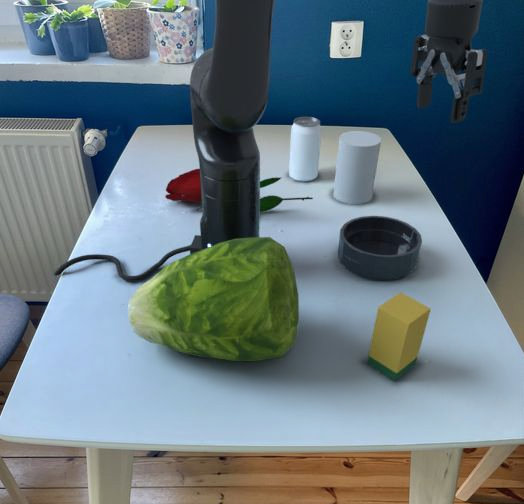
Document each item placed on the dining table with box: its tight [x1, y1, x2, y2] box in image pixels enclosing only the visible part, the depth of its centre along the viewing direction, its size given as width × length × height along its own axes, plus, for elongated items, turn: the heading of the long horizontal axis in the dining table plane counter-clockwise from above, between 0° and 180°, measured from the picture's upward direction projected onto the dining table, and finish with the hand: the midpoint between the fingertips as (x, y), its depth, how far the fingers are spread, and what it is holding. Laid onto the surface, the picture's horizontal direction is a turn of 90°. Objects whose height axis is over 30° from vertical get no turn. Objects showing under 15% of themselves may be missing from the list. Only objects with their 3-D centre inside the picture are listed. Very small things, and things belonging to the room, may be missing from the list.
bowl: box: [337, 215, 423, 282], centre depth 94 cm, size 14×14×5 cm
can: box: [288, 116, 322, 183], centre depth 117 cm, size 6×6×12 cm
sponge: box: [366, 292, 432, 382], centre depth 72 cm, size 5×5×10 cm
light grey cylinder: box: [333, 130, 382, 205], centre depth 110 cm, size 8×8×12 cm
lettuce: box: [127, 236, 300, 362], centre depth 73 cm, size 17×23×16 cm
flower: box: [164, 168, 314, 213], centre depth 106 cm, size 9×10×30 cm
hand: (439, 114), depth 88 cm, fingers open, 8 cm apart
